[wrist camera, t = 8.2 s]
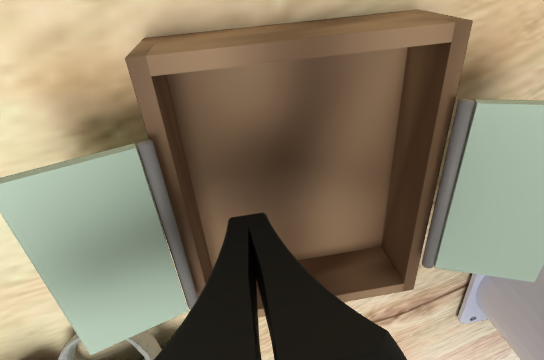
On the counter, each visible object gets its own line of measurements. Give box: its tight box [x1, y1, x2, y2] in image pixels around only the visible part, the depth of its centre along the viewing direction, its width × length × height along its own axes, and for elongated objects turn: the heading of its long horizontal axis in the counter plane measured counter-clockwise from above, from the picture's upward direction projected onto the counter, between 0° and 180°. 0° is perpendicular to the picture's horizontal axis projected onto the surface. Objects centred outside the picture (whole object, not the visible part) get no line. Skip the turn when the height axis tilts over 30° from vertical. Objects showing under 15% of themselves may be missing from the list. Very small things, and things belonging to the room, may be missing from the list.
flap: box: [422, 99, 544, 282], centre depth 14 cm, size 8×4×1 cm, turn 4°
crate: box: [125, 10, 473, 317], centre depth 15 cm, size 11×13×3 cm
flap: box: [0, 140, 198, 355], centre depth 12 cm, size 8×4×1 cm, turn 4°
